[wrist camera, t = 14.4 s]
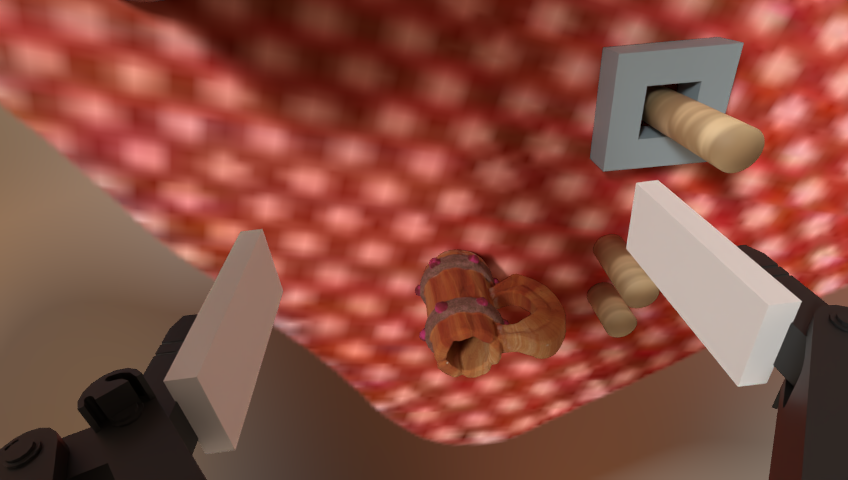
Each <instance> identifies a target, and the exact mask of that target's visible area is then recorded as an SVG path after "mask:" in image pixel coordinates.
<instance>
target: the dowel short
mask: <svg viewBox="0 0 848 480" xmlns="http://www.w3.org/2000/svg"><path fill="white" fill-rule="evenodd" d="M587 299H588V301H589V303H590V305H591V306H592V308H593V310H594V311H595V313H596V315H597V317H598V318H599V320H600V322H601V323H602V325H603V327H604V329H605V330H606V332H607V333H608V334H609V335H610V336H612V337H623V336H626V335H628V334H630V333H631V332H632V331H633V330H634V329H635V327H636V325H637V319H636V318H635V316H634V315H633V313H632V312H631V310H630V309H629V307H628V306H627V305H626V304H625V302H624V301H623V299H622V297H621V296H620V294H619V293H618V291H617V290H616V289H615V287H614V286H613V285H612V284H610V283H607V282H602V283H598V284H596V285H594V286H593V287H591V288H590V290H589V291H588V293H587Z"/></svg>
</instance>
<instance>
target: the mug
mask: <svg viewBox="0 0 848 480" xmlns="http://www.w3.org/2000/svg"><path fill="white" fill-rule="evenodd" d="M415 293H416V295H418V296H421V297H422V299H423V301H424V303H425V304H426V307H427V316H428V318H427V321H426V325H425V328H424V329H423V330H422V331H421V332H420V336H419V337H420V339H421V340H423V341H426V343H427V345H428V347H429V348H430V349H431V351H432V352H433V353H434V356H435V359H436V361H437V365H438V368H439V369H440V370H441V371H442V372H444V373H446V374H448V375H450V376H452V377H458V376H460V375H464V376H466V377H478V376H480V375H483V374H486V373H487V372H488V371H489V370H490V368H491V365H492V364H497V363H498V362H499V361H500V359H501V354H502V353H506V352H520V353H524V354H527V355H530V356H533V357H535V358H540V359H544V358H548V357H551V356H552V355H554V354H556V352H557V351H558V350H559V348H560V347H561V345H562V342H563V340H564V338H565V333H566V328H565V324H566V315H565V311H564V308H563V306H562V305H561V303H560V301H559V300H558V298H557V297H556V295H555V294H554V293H553V292H552V291H550V290H549V289H548V288H547V287H546V286H545V285H543V284H541V283H539V282H538V281H536V280H534V279H531V278H528V277H525V276H522V275H519V274H513V275H511V276H509V277H508V278H507V279H505V280H503V281H501V282H500V283H499V281H498V280H497V279H496V278H493V276H492V274H491V272H490V270H489V268H488V266H487V264H486V263H485V262H484V261H483V259H482V258H480V257H479V256H478V255H476V254H474V253H472V252H470V251H463V250H449V251H446V252H443V253H441V254H440V255H439V256H438V257H436V258H432V259H431V260H430V262H429V264H428V265H427V267H426V269H425V270H424V274H423V276H422V279H421V283H420V285H418V286H417V287H416V289H415ZM508 305H515V306H519V307H522V308H524V309H525V310H527V311H529V312H530V313H531V315H529V316H528V317H526V318H525V319H522V320H521V321H520V322H518V323H516V324H510V325H509V322H508V321H507V320H505V319H502V317H501V315H500V313H499V312H498V310H497V309H499V308H501V307H505V306H508Z"/></svg>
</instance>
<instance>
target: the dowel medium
mask: <svg viewBox="0 0 848 480" xmlns="http://www.w3.org/2000/svg"><path fill="white" fill-rule="evenodd" d="M626 246H627V244H626V243H625V242H624V240H623V239H622V238H621V237H620V236H618V235H615V234H609V235H605V236H603V237H601V238H600V239H599V240H598V241H597V242H596V243H595V245H594V248H593V252H594V255H595V256H596V258H597V259H598V261H599V262H600V264H601V266H602V267H603V269H604V270H605V272H606V274H607V275H608V277H609V278H610V280H611V282H612V283H613V285H614V286H615V288H616V289H617V291H618V293H619V294H620V296H621V297H622V299H623V301H624V302H625V304H626V305H627V306H629V307H632V308H642V307H645V306H648V305H650V304H651V303H653V302H654V301H655V300H656V298H657V297H658V295H659V289H658V287H657V286H656V285H655V284H654V282H653V281H652V280H651V279H650V277H649V276H648V275H647V274H646V273H645V271H644V270H643V269H642V268H641V266H640V265H639V264H638V263H637V261H636V260H635V259H634V258H633V256H632V255H631V254H630V253H629V251H628V250H627V249H626Z"/></svg>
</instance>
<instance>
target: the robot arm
mask: <svg viewBox="0 0 848 480" xmlns="http://www.w3.org/2000/svg"><path fill="white" fill-rule="evenodd" d="M127 1H133V2H156V1H163V0H127ZM626 249H627V250H628V251H629V253H630V254H631V255H632V256H633V258H634V259H635V260H636V261H637V263H638V264H639V265H640V266H641V268H642V269H643V270H644V271H645V273H646V274H647V275H648V276H649V277H650V279H651V280H652V281H653V282H654V284H655V285H656V286H657V287H658V289H659V290H660V291H661V292H662V294H663V295H664V296H665V297H666V299H667V300H668V301H669V302H670V303H671V305H672V306H673V307H674V308H675V310H676V311H677V312H678V313H679V315H680V316H681V317H682V318H683V320H684V321H685V322H686V323H687V324H688V326H689V327H690V328H691V329H692V331H693V332H694V333H695V334H696V336H697V337H698V338H699V339H700V341H701V342H702V343H703V344H704V346H705V347H706V348H707V349H708V350H709V352H710V353H711V354H712V355H713V357H714V358H715V359H716V360H717V362H718V363H719V364H720V365H721V366H722V368H723V369H724V370H725V372H726V373H727V374H728V375H729V376H730V378H731V379H732V380H733V381H734V383H735V384H736V385H737V386H738V387H741V386H748V385H756V384H764V383H767V382H768V380H769V377H770V375H771V373H772V370H773V368H774V366H775V367H776V368H777V370H778V371H779V372H780V373H781V374H782V375H783V376H784V377H785V380H784V382H783V384H782V386H781V388H780V391H779V393H778V395H777V397H776V399H775V402H774V404H773V406H772V407H773V408H775V409H778V413H777V421H776V429H775V436H774V444H773V451H772V459H771V466H770V474H769V480H848V307H845V306H839V305H828V304H827V303H825V302H824V301H823V300H822V299H820V298H819V297H818V296H817V295H815V294H814V293H813V292H812V291H810V290H809V289H808V288H807V287H805V286H804V285H803V284H802V283H800V282H799V281H798V280H797V279H795V278H794V277H793V276H789V273H788V272H787V271H785V270H784V269H783V268H782V267H778V264H777V263H775V262H774V261H773V260H772V259H770V258H769V257H768V256H767V255H765V254H764V253H762V252H760V251H758V250H755V249H753V248H751V247H749V246H747V245H740V246H736V245H734V244H733V243H732V242H731V241H730V240H729V239H727V238H726V237H725V236H724V235H723V234H721V233H720V232H719V231H718V230H717V229H715V228H714V227H713V226H712V225H711V224H710V223H708V222H707V221H706V220H705V219H704V218H702V217H701V216H700V215H699V214H698V213H696V212H695V211H694V210H693V209H692V208H690V207H689V206H688V205H687V204H686V203H685V202H683V201H682V200H681V199H680V198H679V197H677V196H676V195H675V194H674V193H673V192H671V191H670V190H669V189H668V188H667V187H666V186H664V185H663V184H662V183H661V182H660V181H658V180H655V181H647V182H639V183H636V188H635V194H634V201H633V207H632V213H631V220H630V226H629V233H628V239H627V246H626ZM282 293H283V289H282V286H281V283H280V280H279V277H278V274H277V271H276V268H275V265H274V262H273V259H272V256H271V253H270V250H269V247H268V244H267V241H266V238H265V235H264V232H263V229H259V230H251V231H243V232H240V234H239V236H238V238H237V240H236V241H235V243H234V245H233V247H232V249H231V251H230V253H229V255H228V257H227V259H226V261H225V263H224V265H223V267H222V269H221V270H220V272H219V274H218V276H217V278H216V280H215V282H214V284H213V286H212V288H211V290H210V292H209V294H208V296H207V298H206V300H205V302H204V303H203V305H202V307H201V309H200V311H199V313H198V314H196V315H187V316H183V317H182V318H181V319H180V320H179V321H178V322H177V323H175V324H174V325H173V326H172V327H171V328H170V329H169V331H168V333H167V334H166V336H165V338H164V340H163V341H162V345H160V347H159V348H158V350H157V352H156V356H154V357H153V359H152V361H151V362H150V364H149V366H148V368H147V369H146V371H145V373H144V375H143V374H142V373H141V372H139V371H138V370H137V369H131V368H125V369H120V370H116V371H113V372H111V373H108V374H106V375H104V376H102V377H101V378H99V379H98V380H96V381H95V382H93V383H92V384H91V385H90V386H89V387H88V388H87V389H86V390H85V391H84V392H83V393H82V395H81V397H80V398H79V400H78V410H79V412H80V413H81V414H82V416H83V417H84V418H85V420H86V421H87V422H88V423H89V425H90V426H91V427H90V428H88V429H85V430H82V431H80V432H77V433H74V434H72V435H69V436H66V437H63V438H61V437H60V436H59V434H58V433H57V432H56V431H54V430H53V429H51V428H38V429H35V430H31V431H28V432H26V433H24V434H22V435H20V436H18V437H17V438H15V439H13V440H12V441H10V442H9V443H8V444H6V445H5V446H4V447H3V448H1V449H0V480H207V479H206V478H205V476H204V474H203V473H202V471H201V469H200V468H199V466H198V465H197V463H196V461H195V460H194V458H193V456H192V454H193V452H194V449H195V446H196V444H197V441H198V442H199V443H200V444H201V447H202V448H203V450H204V452H205V454H210V453H218V452H225V451H234V450H235V449H236V446H237V443H238V440H239V436H240V433H241V430H242V426H243V423H244V420H245V416H246V413H247V410H248V406H249V403H250V399H251V396H252V393H253V390H254V386H255V383H256V380H257V377H258V373H259V370H260V367H261V363H262V360H263V356H264V353H265V350H266V347H267V343H268V340H269V336H270V333H271V330H272V327H273V323H274V320H275V317H276V313H277V310H278V307H279V303H280V300H281V297H282Z"/></svg>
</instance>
